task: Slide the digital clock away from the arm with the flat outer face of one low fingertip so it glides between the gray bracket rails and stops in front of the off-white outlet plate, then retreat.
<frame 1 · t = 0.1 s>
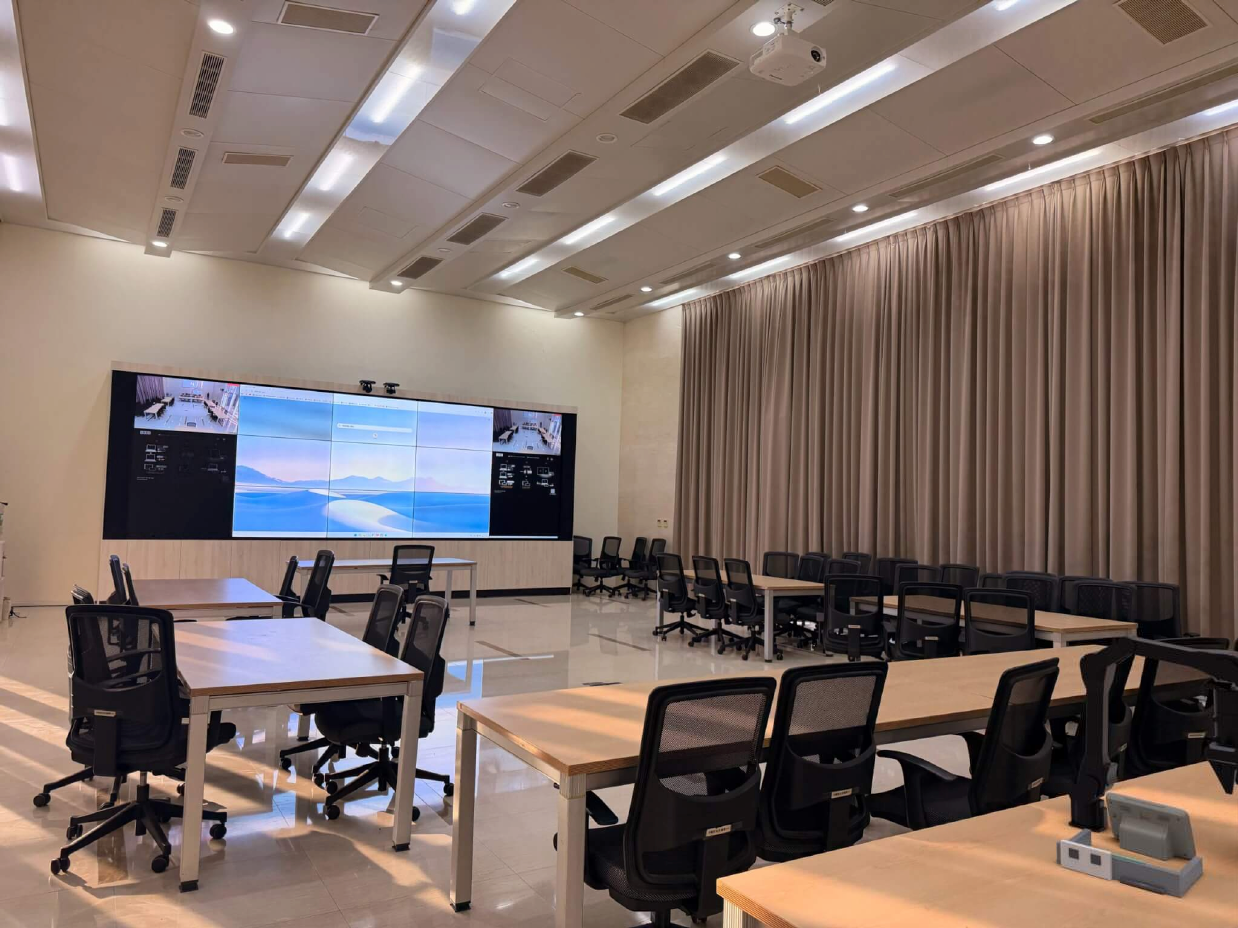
hand: (1234, 789, 173), 15 cm above the table, fingers open, 9 cm apart
gray bracket: (1123, 872, 166), on the table
digital clock: (1150, 851, 178), on the table
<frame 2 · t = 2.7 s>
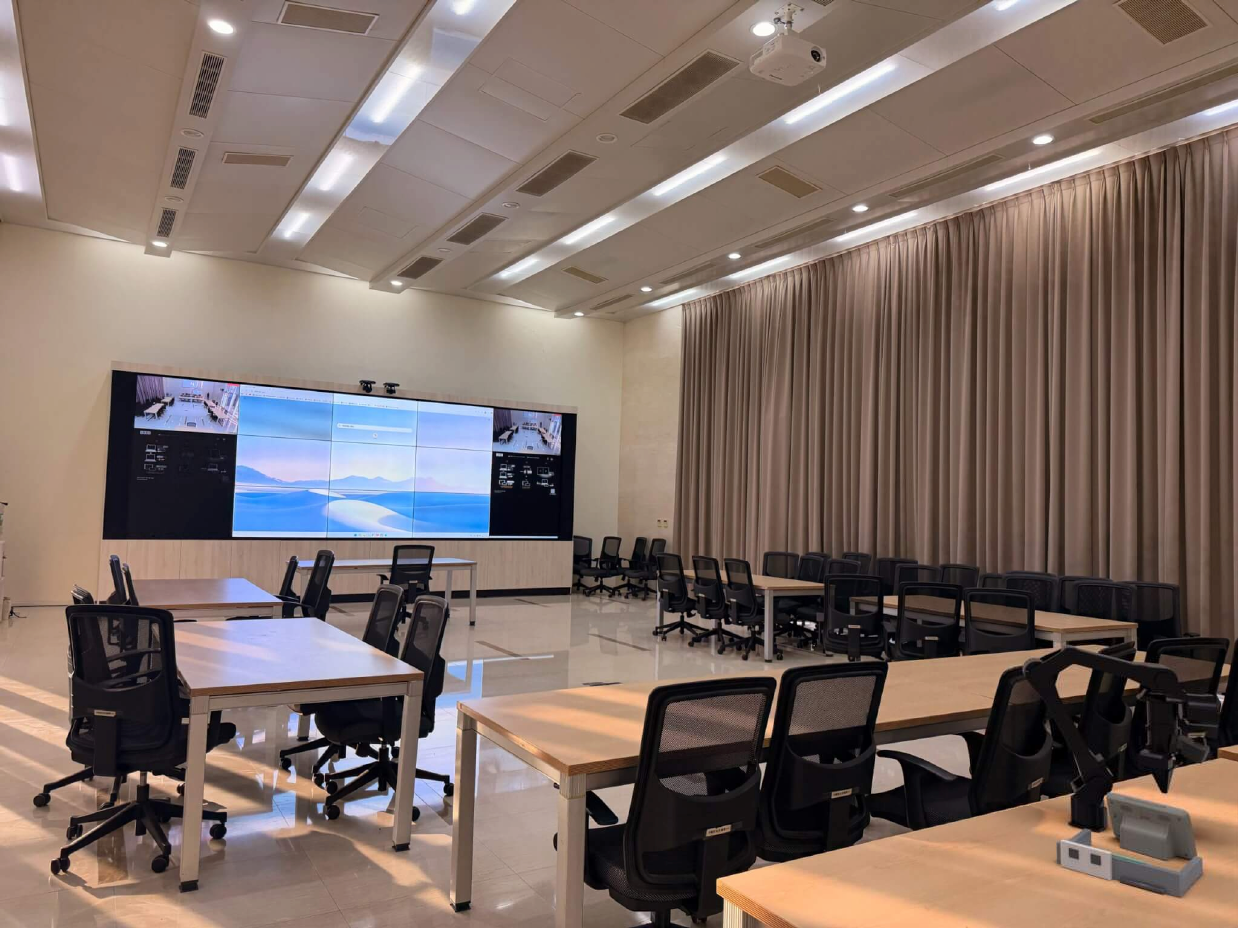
hand: (1164, 792, 187), 9 cm above the table, fingers closed
nothing on the table moved.
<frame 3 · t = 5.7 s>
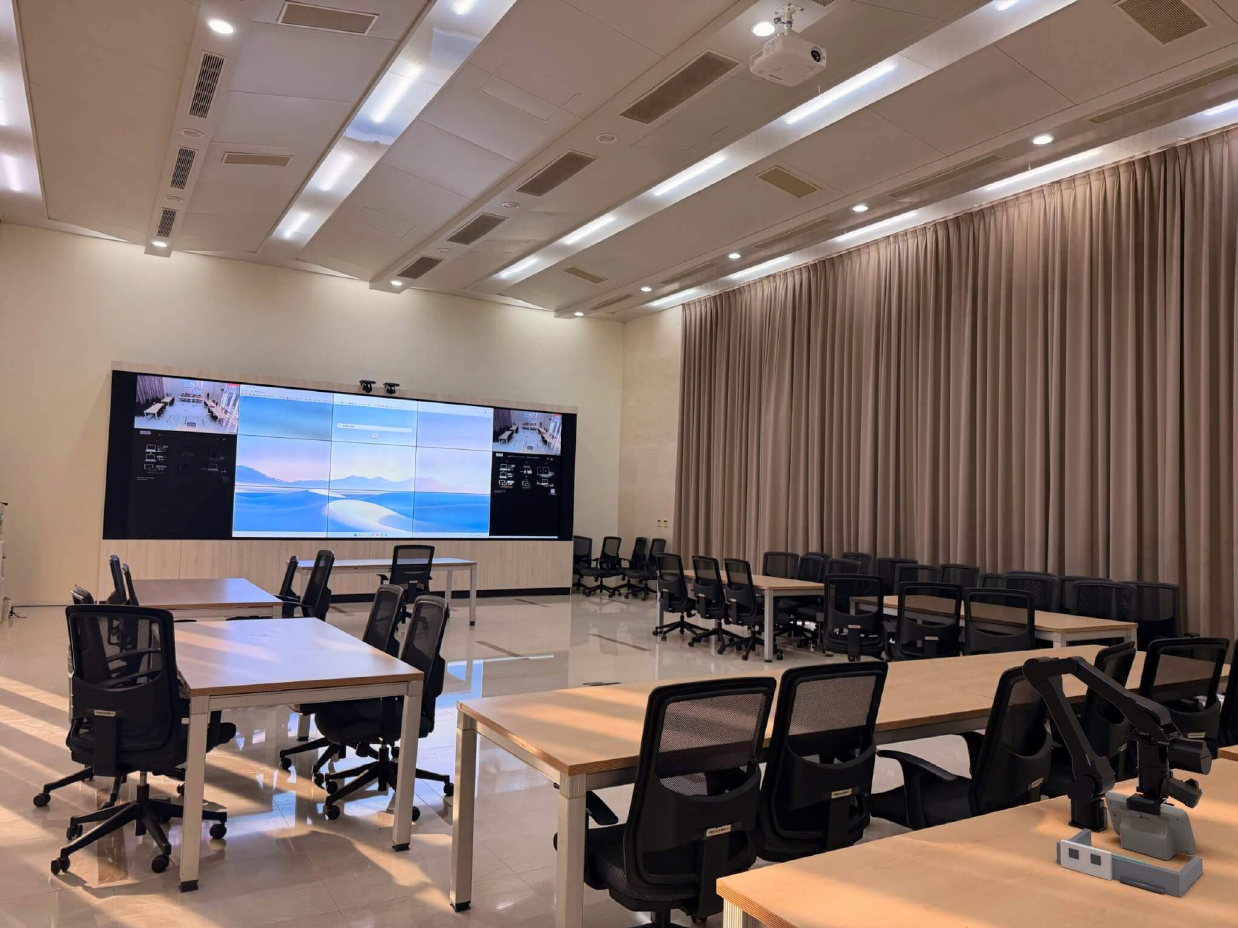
hand: (1155, 837, 181), 2 cm above the table, fingers closed, pressing on digital clock
digital clock: (1151, 848, 178), on the table, touching gripper
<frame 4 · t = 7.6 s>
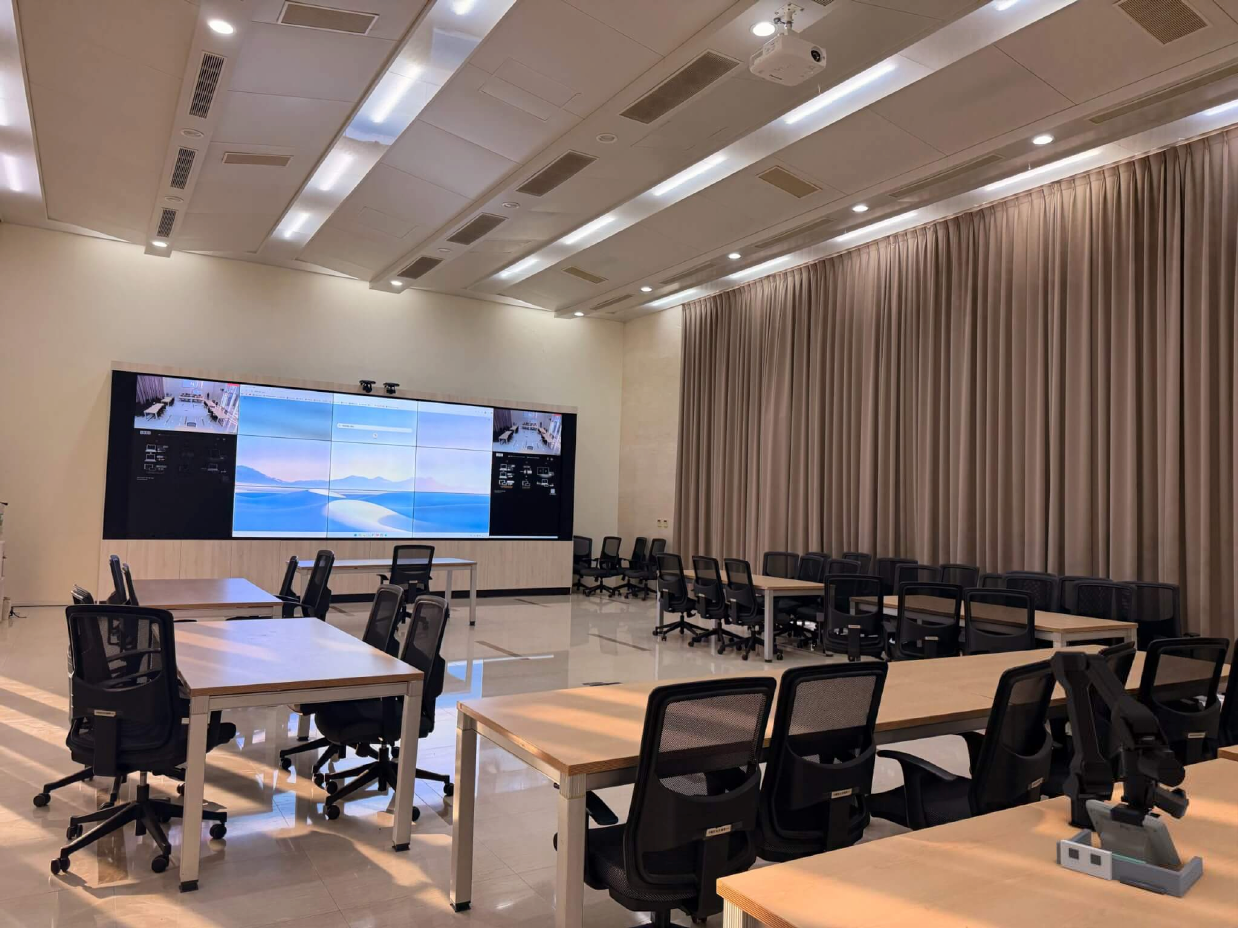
hand: (1141, 849, 174), 2 cm above the table, fingers closed, pressing on digital clock
digital clock: (1135, 858, 171), point 1 cm above the table, touching gripper
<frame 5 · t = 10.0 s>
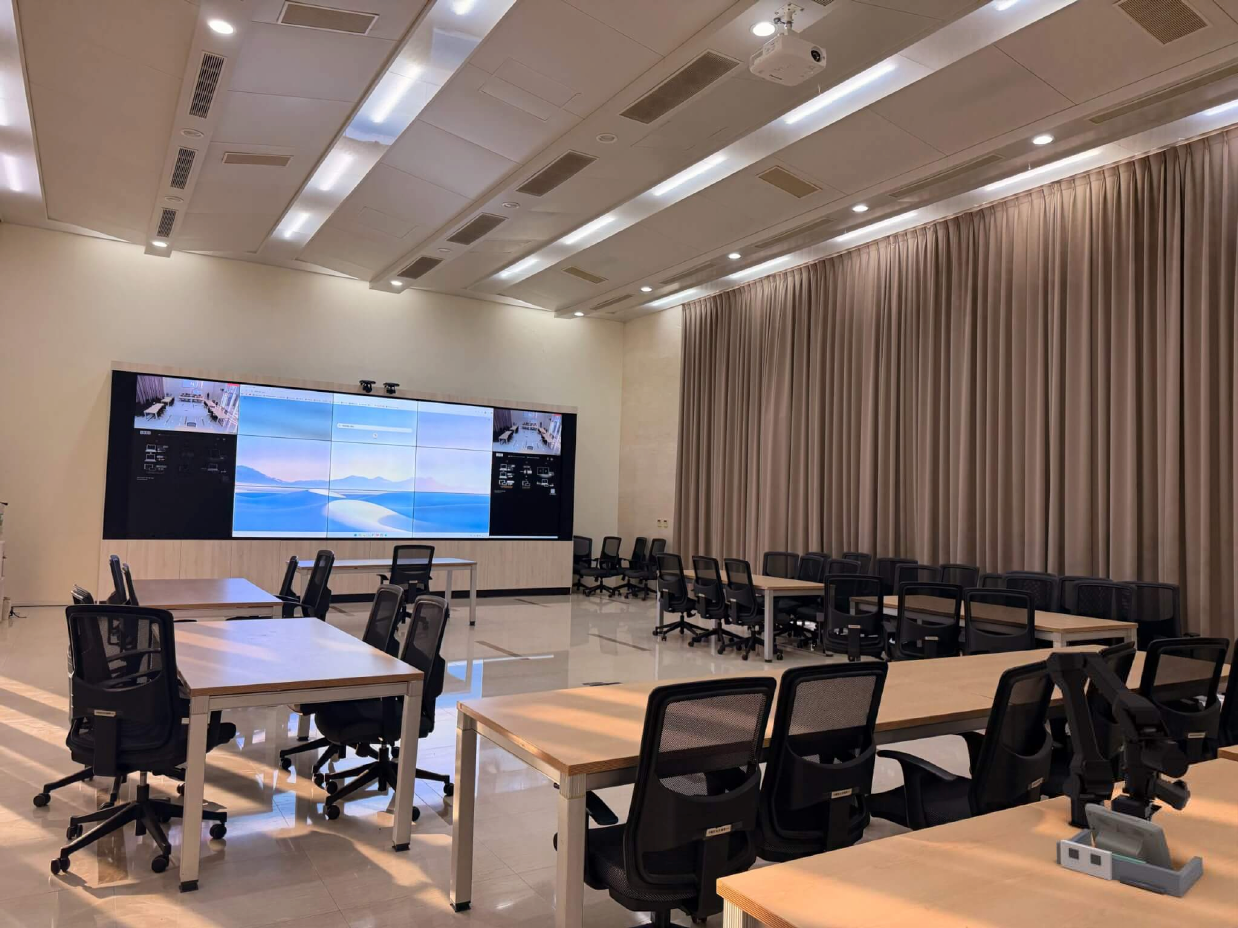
hand: (1142, 840, 175), 3 cm above the table, fingers closed
digital clock: (1129, 867, 169), on the table
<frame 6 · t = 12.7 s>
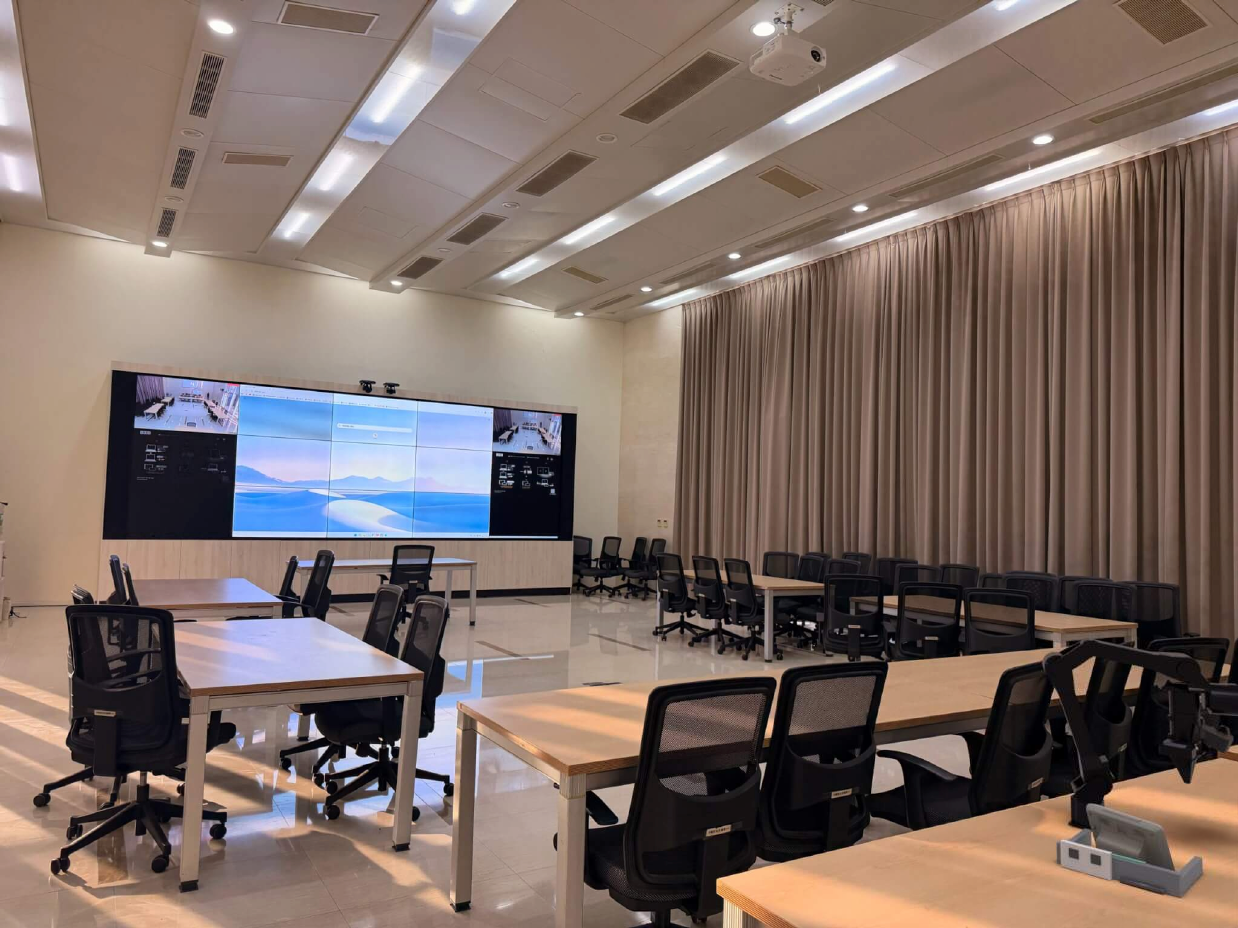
hand: (1187, 783, 186), 12 cm above the table, fingers closed
nothing on the table moved.
at the end: digital clock inside the target area (2.8 cm from its centre), on the table; digital clock tilted 0° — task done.
